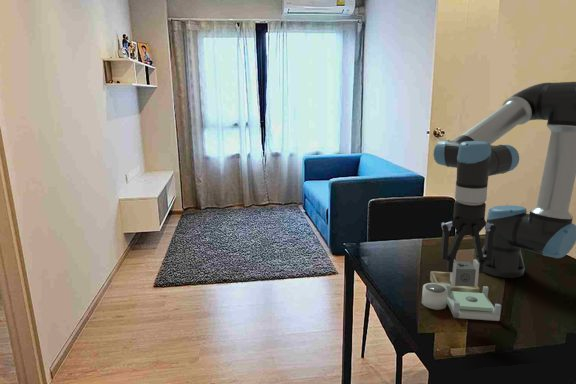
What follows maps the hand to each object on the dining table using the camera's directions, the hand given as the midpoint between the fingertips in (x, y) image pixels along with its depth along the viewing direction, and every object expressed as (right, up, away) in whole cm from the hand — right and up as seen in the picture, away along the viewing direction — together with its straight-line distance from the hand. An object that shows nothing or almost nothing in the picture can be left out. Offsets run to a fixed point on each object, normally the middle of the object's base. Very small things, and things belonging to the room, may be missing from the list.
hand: (463, 282), depth 112 cm
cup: (-4, -9, +11) cm, 14 cm away
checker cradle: (+5, -9, +8) cm, 13 cm away
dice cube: (0, 0, +1) cm, 1 cm away
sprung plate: (+5, -7, +7) cm, 11 cm away
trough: (+5, -6, +20) cm, 22 cm away
